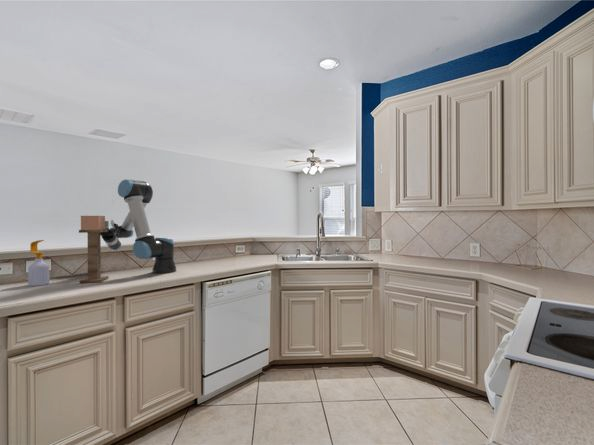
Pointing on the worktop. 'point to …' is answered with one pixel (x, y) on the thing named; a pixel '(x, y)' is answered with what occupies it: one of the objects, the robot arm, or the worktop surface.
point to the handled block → (93, 223)
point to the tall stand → (94, 257)
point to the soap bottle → (38, 268)
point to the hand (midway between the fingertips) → (99, 221)
